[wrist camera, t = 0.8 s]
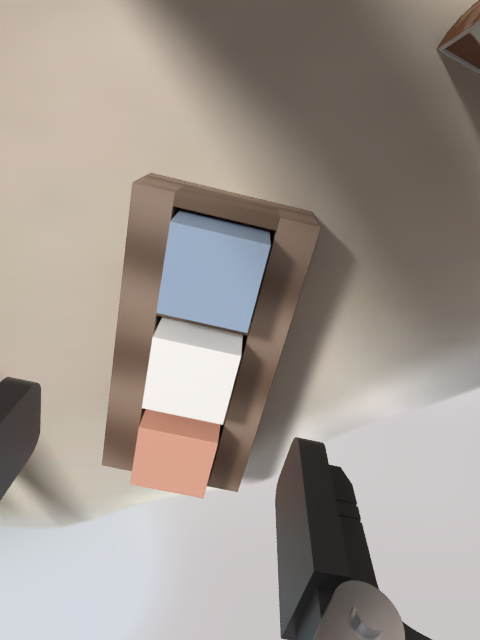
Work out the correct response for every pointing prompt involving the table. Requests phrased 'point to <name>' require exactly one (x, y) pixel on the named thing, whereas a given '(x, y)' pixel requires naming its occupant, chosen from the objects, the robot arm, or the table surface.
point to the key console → (142, 321)
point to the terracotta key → (174, 453)
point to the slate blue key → (212, 270)
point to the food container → (464, 39)
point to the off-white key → (191, 370)
